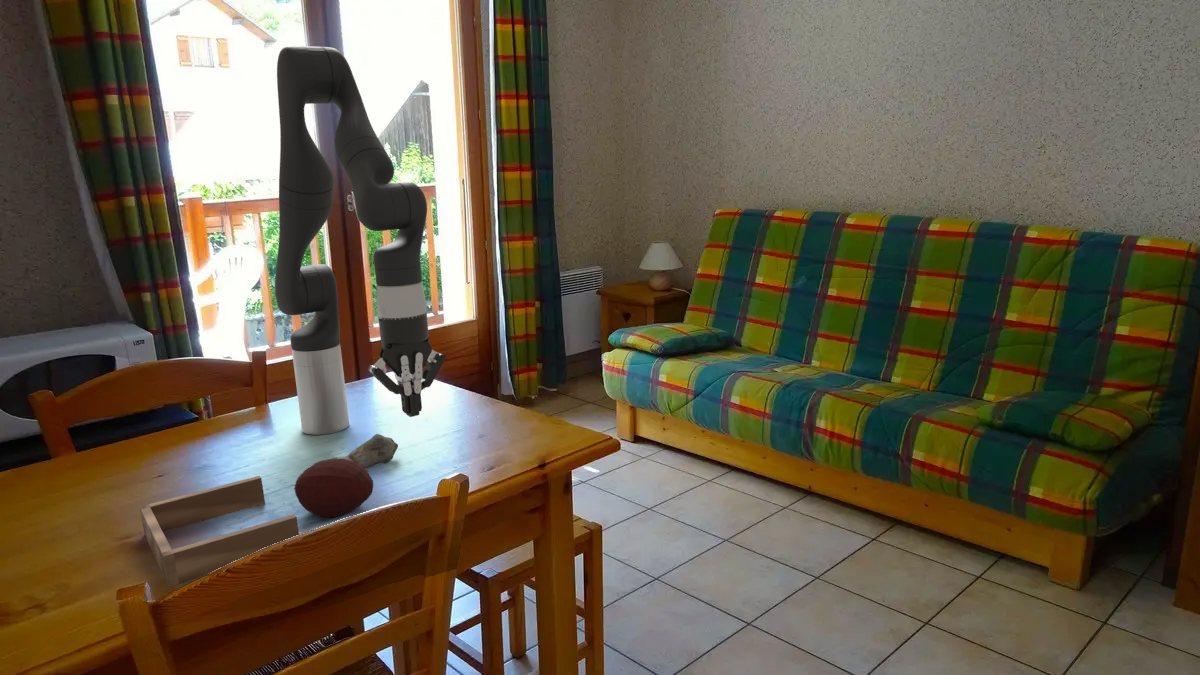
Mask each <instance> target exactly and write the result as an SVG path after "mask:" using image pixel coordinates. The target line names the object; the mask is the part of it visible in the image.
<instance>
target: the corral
mask: <svg viewBox="0 0 1200 675" xmlns="http://www.w3.org/2000/svg"><path fill="white" fill-rule="evenodd" d="M264 493H265V492H264V486H263V479H262V477H261V476H260V475H257V476H254V477H249V478H245V479H241V480H237V481H233V482H230V483H224V484H222V485H218V486H214V487H211V488H210V487H209V488H207V489H202V490H199V491H195V492H191V493H187V494H182V495H179V496H175V497H172V498H168V499H165V500H160V501H156V502H152V503H149V504H145V505H140V506H139V512H140V517H141V522H142V528H143V532H144V536H145V538H146V540H147V543H148V544H149V547H150V549H151V551H152V553H153V555H154V557H155V560H156V562H157V564H158V566H159V569H160V571H161V572H162V575H163V577H164V579H165V581H166V584H167V585H168V588H170V587H174V586H176V585H180V584H184V583H186V582H189V581H192V580H196V579H199V578H202V577H201V576H203V577H205V576H204V575H206V574H208V573H210V572H212V571H214V570H216V569H218V568H220V567H223V566H225V565H227V564H229V563H231V562H233V561H235V560H238V559H240V558H242V557H245V556H247V555H250V554H252V553H254V552H256V551H258V550H260V549H262V548H264V547H267V546H270V545H272V544H274V543H277V542H280V541H283V540H285V539H288V538H291V537H293V536H296V535H299V536H300V530H299V524H298V523H299V522H298V517H297V515H296V514H294V513H293V514H290V515H286V516H283V517H280V518H275V519H272V520H270V521H266V522H262V523H259V524H255V525H253V526H248V527H245V528H242V529H238V530H236V531H235V530H234V531H232V532H231V531H230V532H228V533H225V534H222V535H219V536H214V537H210V538H208V539H204V540H201V541H197V542H194V543H191V544H186V545H183V546H181V547H177V548H173V549H172V548H171V545H170V543H169V542H168V540H167V537H166V535H165V534H164V533H165V532H169V531H173V530H176V529H180V528H184V527H187V526H191V525H194V524H197V523H198V524H199V523H202V522H205V521H209V520H212V519H216V518H218V517H222V516H223V517H224V516H226V515H230V514H233V513H237V512H241V511H244V510H248V509H251V508H255V507H259V506H261V505H265V504H266V501H265V494H264ZM206 576H207V575H206Z"/></svg>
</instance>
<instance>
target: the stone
mask: <svg viewBox="0 0 1200 675" xmlns="http://www.w3.org/2000/svg"><path fill="white" fill-rule="evenodd" d="M398 448H399V444H398V443H396V442H395V440H394V439H393V438H392V437H388V436H384V435H382V434H379V433H376V434H374V435H373V436H371V438H369V439H368V440H367V441H365V442H363V443H361V444H360V445H359V446H357V447H355V449H353V450H352V451H351V452H350V453H349V454H348V455H345V456H340V457H338V458H337V459H346V460H350V461H354V462H356V463H358V464H359V465H361V466H363V467H364V468H365V469H366V470H368V469H369V468H372V467H375V466H377V465H380V464H387V463H389V462H391V461H392V459H393V458H394V456H395V453H396V452H397V449H398Z"/></svg>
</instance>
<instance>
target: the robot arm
mask: <svg viewBox="0 0 1200 675" xmlns="http://www.w3.org/2000/svg"><path fill="white" fill-rule="evenodd" d="M276 83H277V99H278V101H277V102H278V113H279V114H278V116H279V129H280V132H279V133H280V136H279V137H280V143H279V144H280V147H279V148H280V149H279V150H280V152H279V175H278V176H279V177H278V205H279V206H278V209H279V210H278V212H279V213H278V214H279V216H278V217H279V220H278V221H279V223H278V224H279V227H278V228H279V232H278V233H279V235H278V236H279V237H278V249H277V258H276V266H275V276H274V277H275V279H274V293H275V300H276V304H277V306H278V309H279V311H281V313H282V314H284V315H286V316H299V315H306V314H312V313H314V316H313V318H312V319H311V320H310V321H309V322H308V323H306V324H305V325H303V326H302V327H300V328H299V329H296V330H295V331H293V333H291V335H290V339H289V340H290V341H289V342H290V347H291V348H290V349H291V355H292V362H293V369H294V377H295V384H296V394H297V399H298V400H297V401H298V408H299V417H300V424H301V430H302V432H303V433H304V434H306V435H311V436H313V435H315V436H317V435H319V436H320V435H328V434H335V433H337V432H340V431H343V430H344V429H346V428H348V427H349V425H350V418H349V409H348V399H347V391H346V382H345V373H344V366H343V357H342V356H343V355H342V348H341V340H340V334H341V333H340V331H341V329H340V328H341V325H340V316H339V315H340V314H339V299H338V298H339V296H338V295H339V294H338V285H337V280H336V277H335V274H334V272H333V270H332V268H331V267H330V266H329V265H328V264H324V263H320V264H311V265H309V264H308V265H303V266H302V263H303V259H304V257H305V253H306V251H307V249H308V247H309V246H310V245H311V243H312V241H313V240H314V239H315V238H316V237H317V234H318V233H320V232H319V231H321V229H322V228H323V227H324V224H325V223H326V222H327V220H328V218H329V216H330V215H331V213H332V212H331V211H332V208H333V200H334V198H333V196H334V194H333V193H334V175H333V171H332V169H331V167H330V164H329V163H328V162H327V160H326V158H325V157H324V155H323V153H322V152H321V151H320V149H319V148H318V146H317V145H316V144H315V141H314V140H313V138H312V136H311V134H310V132H309V130H308V127H307V124H306V117H305V116H306V115H305V107H306V105H308V104H309V105H312V104H313V105H314V104H325V105H326V104H335V105H336V106H337V108H339V110H340V117H339V120H338V123H337V125H336V129H335V133H334V140H333V142H334V148H335V152H336V155H337V157H338V160H339V161H340V163H341V166H342V167H343V169H344V171H345V172H346V175H347V176H348V177H349V180H350V183H351V187H352V192H353V194H354V195H353V196H354V202H355V203H354V204H355V210H356V215H357V218H358V220H359V222H360V223H361V224H362V225H363V226H364V228H366V229H368V230H369V231H374V232H384V231H393V230H398V231H397V232H398V233H397V235H396V237H395V239H394V240H393V241H392V242H390V243H388V244H386V245H382V246H380V247H378V248H376V250H375V251H374V252H373V265H374V274H375V281H376V282H375V285H376V308H377V317H378V326H379V327H378V328H379V336H380V337H379V338H380V343H381V349H380V351H379V359H378V360H377V361H376V362H375V363H374V364H371V365H369V366H368V367H367V371H368V372H369V373H370V374H371V375H372V376H373V377H374V378H375V379H376V380H377V381H379V383H380V384H382V385H383V386H384V387H385V388H386V390H388V391H389V392H391V393H393V394H395V395H400V400H401V410H402V412H403V413H404V414H405V415H406V416H408V417H410V418H412V417H416V416H419V415H420V412H421V411H422V408H423V406H422V397H421V396H422V395H421V394H422V391H423V390H425V389H426V388H430V387H431V385H432V384H433V382H434V381H435V379H436V377H437V375H438V373H439V371H440V369H441V368H442V367H443V364H444V362H445V360H446V355H444V354H442V353H440V352H438V351H436V350H434V349H433V346H432V343H431V342H430V341H429V337H430V336H429V335H430V333H429V325H428V312H427V306H428V305H427V301H426V293H425V290H424V289H425V288H424V285H423V284H424V283H423V278H422V277H423V275H422V265H421V250H422V244H423V238H424V237H423V236H424V231H425V226H426V221H427V215H428V202H427V198H426V196H425V194H424V191H423V190H422V188H421V187H420V186H419V185H417V184H416V183H414V182H404V181H403V182H393V183H391V181H392V180H393V179H394V178H393V177H394V176H395V175H394V174H395V167H394V164H393V161H392V160H391V158H390V156H389V155H388V153H387V151H386V149H385V147H384V146H383V144H382V142H381V141H380V139H379V138H378V135H377V134H376V132H375V130H374V128H373V126H372V123H371V121H370V119H369V115H368V114H367V111H366V107H365V104H364V101H363V98H362V96H361V93H360V90H359V88H358V85H357V82H356V80H355V77H354V74H353V71H352V69H351V66H350V65H349V62H348V60H347V59H346V58H345V56H344V54H343V53H342V52H341V51H340V50H339V49H336V48H334V47H330V46H329V47H328V46H312V45H310V46H308V45H305V46H304V45H288V46H284V47H283V48H282V49H280V51H279V53H278V57H277V63H276ZM425 365H426V366H425ZM424 366H425V367H424ZM387 367H388V368H389V370H391V372H393V373H394V377H395V380H396V382H397V383H395V382H394V380H392V378H390V377H389V376H388V375H387V371H388V370H387ZM423 368H424V369H423Z"/></svg>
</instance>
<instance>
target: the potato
mask: <svg viewBox="0 0 1200 675" xmlns="http://www.w3.org/2000/svg"><path fill="white" fill-rule="evenodd" d="M293 489H294V493H295V496H296V498H297V501H298V502H299V504H300V505H301V507H303V508H304V510H306V511H307V512H309V513H311V514H312V515H314V516H318V517H321V518H335V517H338V516H341V515H345V514H348V513H350V512H352V511H354V510H355V509H358V508H359V507H360V506H362V504H364V503H365V502H366V501H367V500H368V499H369V498H370V496H372V493H373V490H374V480H373V479H372V476H371V474H370V473H369V471H368V469H365V468H364V467H363V466H361V465H359V464H358V463H356V462H354V461H350V460H346V459H338V458H329V459H328V458H327V459H323V460H319V461H317V462H315V463H313V464H312V465H310V466H309V467H307V468H306V469H305V470H303V471H302V472H301V474H300V475H299V476H298V477H297V479H296V481H295V484H294V488H293Z"/></svg>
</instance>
